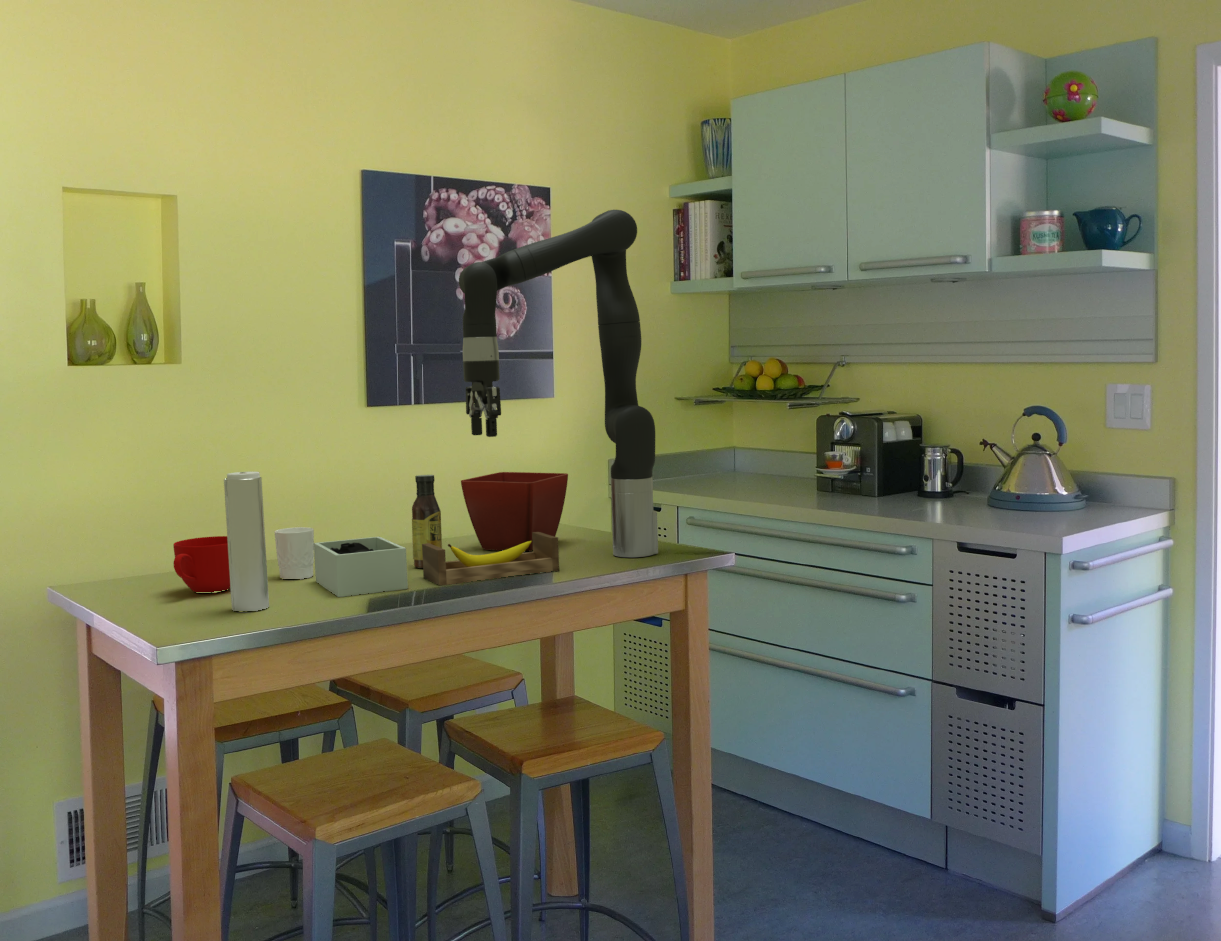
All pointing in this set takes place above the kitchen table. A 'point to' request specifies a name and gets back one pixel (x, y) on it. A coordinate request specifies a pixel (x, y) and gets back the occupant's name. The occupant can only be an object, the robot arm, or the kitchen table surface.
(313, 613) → the kitchen table surface
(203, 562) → the ceramic cup
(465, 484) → the plant pot
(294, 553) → the white cup
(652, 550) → the robot arm
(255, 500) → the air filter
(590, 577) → the kitchen table surface
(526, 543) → the banana
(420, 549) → the sauce bottle
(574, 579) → the kitchen table surface
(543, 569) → the cradle
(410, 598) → the kitchen table surface
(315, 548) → the camera caddy
